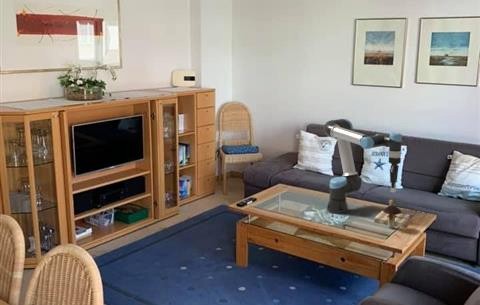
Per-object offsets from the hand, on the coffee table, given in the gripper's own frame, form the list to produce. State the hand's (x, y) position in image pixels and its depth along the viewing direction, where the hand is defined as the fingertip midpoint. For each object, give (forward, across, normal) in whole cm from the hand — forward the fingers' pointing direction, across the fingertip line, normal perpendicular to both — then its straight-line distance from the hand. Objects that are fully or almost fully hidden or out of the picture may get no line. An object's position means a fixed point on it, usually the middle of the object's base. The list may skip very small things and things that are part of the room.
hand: (393, 192), depth 326 cm
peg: (+20, 0, 0) cm, 20 cm away
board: (+20, 0, 0) cm, 20 cm away
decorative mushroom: (+20, -14, -4) cm, 25 cm away
